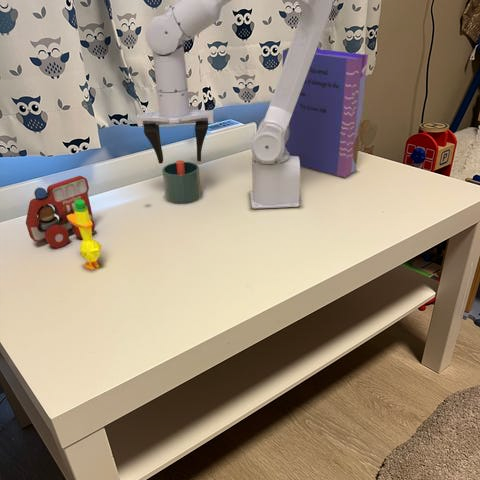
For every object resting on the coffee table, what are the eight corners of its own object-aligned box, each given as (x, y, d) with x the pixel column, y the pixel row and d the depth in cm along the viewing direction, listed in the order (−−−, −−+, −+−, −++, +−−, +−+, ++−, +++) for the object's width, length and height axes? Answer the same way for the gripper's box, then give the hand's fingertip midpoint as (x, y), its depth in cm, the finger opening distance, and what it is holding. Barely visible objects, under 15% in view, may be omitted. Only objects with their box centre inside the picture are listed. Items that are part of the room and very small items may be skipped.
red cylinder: (187, 192, 110) (184, 160, 106) (187, 195, 109) (183, 163, 105) (179, 193, 110) (176, 160, 106) (179, 196, 109) (175, 163, 105)
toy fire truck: (26, 241, 96) (9, 187, 90) (87, 220, 103) (75, 168, 96) (41, 255, 92) (24, 199, 86) (104, 232, 98) (93, 179, 92)
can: (201, 188, 113) (199, 161, 109) (200, 202, 107) (198, 174, 104) (167, 189, 113) (164, 162, 109) (164, 204, 107) (160, 176, 104)
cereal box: (355, 171, 118) (368, 53, 103) (344, 178, 115) (355, 58, 100) (292, 155, 127) (296, 45, 112) (281, 161, 124) (282, 49, 110)
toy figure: (71, 263, 89) (54, 198, 82) (88, 255, 91) (73, 190, 84) (95, 277, 86) (79, 209, 78) (112, 268, 88) (98, 201, 81)
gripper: (130, 96, 94) (141, 169, 102) (211, 92, 94) (216, 166, 102) (135, 86, 100) (146, 157, 108) (211, 83, 100) (216, 153, 108)
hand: (180, 160), depth 105 cm, fingers open, 7 cm apart
